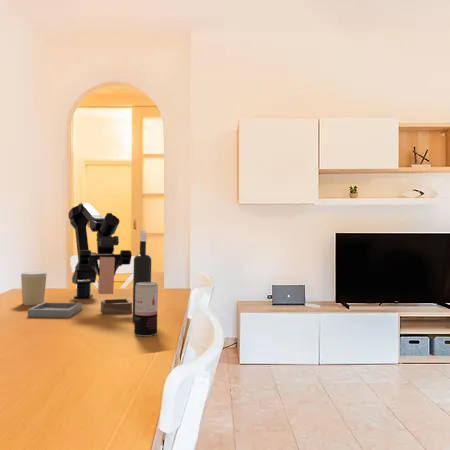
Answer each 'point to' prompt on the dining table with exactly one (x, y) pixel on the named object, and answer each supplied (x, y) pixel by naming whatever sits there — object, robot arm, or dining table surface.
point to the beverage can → (146, 308)
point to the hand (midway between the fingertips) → (106, 275)
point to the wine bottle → (141, 267)
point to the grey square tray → (54, 309)
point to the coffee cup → (33, 287)
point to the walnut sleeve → (116, 306)
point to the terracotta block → (106, 275)
